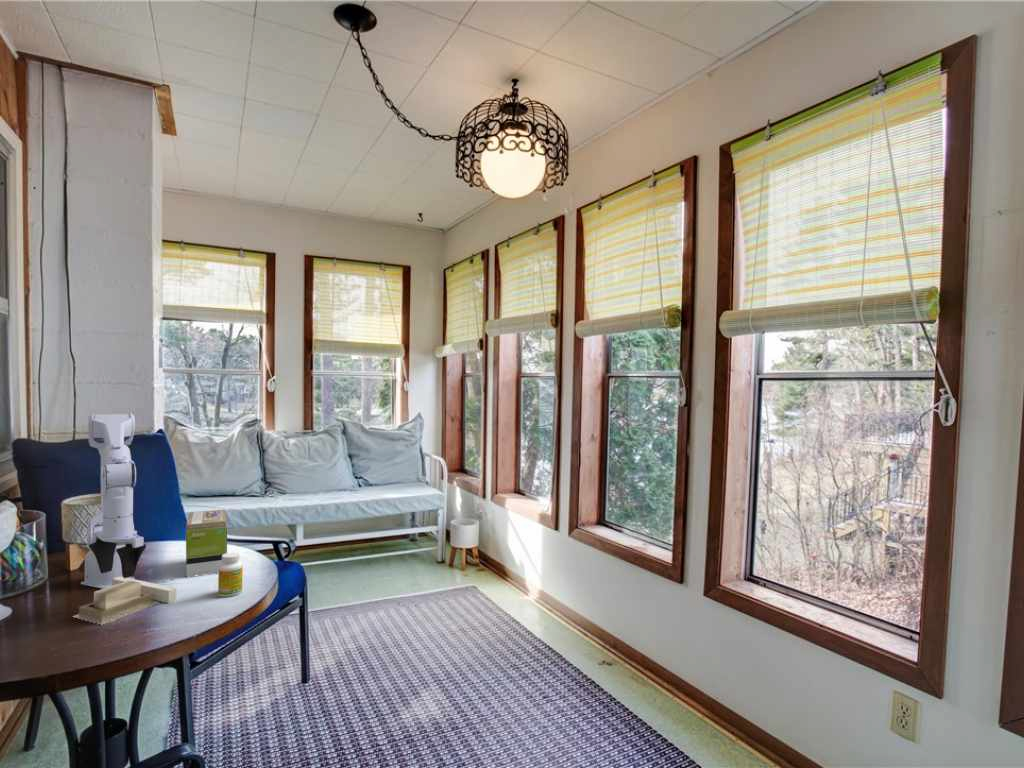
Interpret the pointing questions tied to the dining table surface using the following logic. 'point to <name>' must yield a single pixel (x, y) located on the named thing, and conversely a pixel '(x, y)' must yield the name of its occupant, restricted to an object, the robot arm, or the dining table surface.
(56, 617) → the dining table surface
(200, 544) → the tea box
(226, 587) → the supplement bottle
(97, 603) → the bar
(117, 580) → the board
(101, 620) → the keeper
